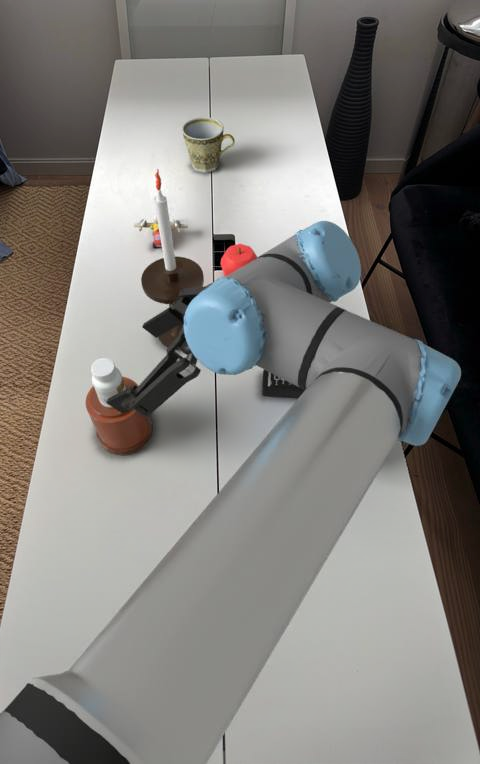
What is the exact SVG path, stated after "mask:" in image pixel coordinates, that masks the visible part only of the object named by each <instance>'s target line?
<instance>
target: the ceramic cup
mask: <svg viewBox="0 0 480 764" xmlns="http://www.w3.org/2000/svg"><path fill="white" fill-rule="evenodd" d="M224 129H225V127H224V125H223V123H222V122H221V121H220V120H219V119H216V118H213V117H210V116H209V117H207V116H201V117H195V118H192V119H189V120H188V121H186V122H185V123H183V126H182V127H181V132H182V136H183V140H184V143H185V146H186V150H187V153H188V157H189V161H190V164H191V166H192V168H193V169H194V170H195V172H199V173H204V174H207V173H211V172H214V171H216V170H217V169H218V167H219V165H220V158H221V155H222V154H223V153H225V152H226V151H227V150H228V149H230V148H232V147H233V146H234V145H235V143H236V142H235V141H236V140H235V137H234V136H233V135H232V134H230V133H225V134H224ZM225 139H230V140H232V143H231V144H230V145H228V146H226V147H225V148H224V149H223V150H222V144H223V141H224V140H225Z"/></svg>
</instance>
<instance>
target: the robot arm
mask: <svg viewBox="0 0 480 764" xmlns="http://www.w3.org/2000/svg"><path fill="white" fill-rule="evenodd" d="M361 277H362V266H361V260H360V257H359V253H358V251H357V248H356V246H355V245H354V243H353V242H352V240H351V238H350V236H349V235H348V234H347V232H346V231H345V230H344V229H343V228H341V227H340V226H339V225H338V224H336V223H334V222H332V221H328V220H320V221H316V222H314V223H313V224H311V225H309V226H307V227H305V228H304V229H299V230H298V231H297V232H295V234H293V235H292V236H290V237H288V238H286V239H285V240H284V241H282V242H280V243H278V244H277V245H275V246H274V247H272V248H270V249H269V250H267V251H265V252H264V253H262V254H260V255H259V256H257V258H256V259H255V260H253V261H252V262H250V263H249V264H247V265H245V266H243V267H241V268H239V269H238V270H236V271H235V272H233V273H231V274H229V275H227V276H226V277H225V276H224V277H223V276H222V277H219V278H217V279H215V281H213V282H211V283H209V284H207V285H203V287H195V288H185V289H182V290H181V291H180V293H179V296H180V297H181V298H180V299H179V300H175V301H174V302H173V304H172V307H168V308H166V309H164V310H163V311H161V312H159V313H158V314H156V315H154V316H153V317H152V318H150V319H148V320H147V321H145V322H144V323H142V326H141V328H142V329H144V330H145V331H146V332H148V333H149V334H150V335H151V336H152V337H154V338H155V339H157V338H158V337H159V336H161V335H162V334H164V333H166V332H167V331H169V330H171V329H173V328H174V327H176V326H178V325H179V324H181V323H183V321H184V324H183V326H182V328H181V330H180V332H179V335H178V337H177V338H176V339H175V340H174V341H173V342H172V343H171V345H170V346H169V347H166V350H165V351H166V355H165V356H164V357H163V358H162V359H161V360H160V361H159V362H158V364H157V365H156V366H154V368H153V369H152V370H151V371H150V373H148V374H147V376H146V377H145V378H144V379H143V380H142V381H141V383H140V384H139V385H138V387H137V386H136V385H134V386H132V387H130V388H128V389H126V390H124V391H122V392H120V393H118V394H116V395H114V396H112V397H110V398H108V400H107V402H106V403H107V404H109V405H110V406H112V407H113V408H115V409H116V410H118V411H119V412H121V413H125V412H127V411H133V410H135V411H136V412H138V413H139V414H141V415H142V416H144V417H146V418H147V417H148V416H151V415H153V413H154V412H155V411H156V410H157V409H159V408H160V407H161V406H162V405H164V403H166V402H167V401H168V400H169V399H170V398H171V397H172V396H173V395H175V394H176V393H177V392H178V391H179V390H180V389H181V388H182V387H183V386H185V385H186V384H187V383H189V382H191V381H192V380H194V379H196V378H197V377H198V376H199V375H200V374H201V371H202V370H201V369H200V367H198V366H197V363H198V362H199V363H200V364H201V365H202V366H203V367H204V368H206V369H208V370H209V371H211V372H212V373H215V374H218V375H228V376H237V375H241V374H243V373H244V372H247V371H249V370H252V369H253V368H254V367H259V368H261V369H263V371H264V370H266V371H268V372H270V373H272V374H274V375H276V376H278V377H280V378H282V379H284V380H286V381H288V382H290V383H292V384H294V385H296V386H298V387H300V388H302V389H304V390H305V391H304V392H303V394H302V395H301V396H300V397H299V398H296V399H297V400H296V401H295V402H294V403H293V404H292V405H291V407H289V409H288V410H287V411H286V412H285V413H284V415H283V416H282V417H281V418H280V419H279V420H278V422H277V423H276V424H275V425H274V426H273V427H272V428H271V430H270V431H269V433H268V434H267V435H266V436H265V437H264V438H263V440H262V441H261V442H260V443H259V444H258V445H257V446H256V448H255V449H254V450H253V451H252V452H251V454H250V455H249V456H248V458H247V459H245V461H244V462H243V463H242V464H241V465H240V467H239V468H238V469H237V470H236V471H235V473H234V474H233V475H232V476H231V477H230V479H229V480H228V481H227V482H226V483H225V484H224V485H223V487H222V488H221V489H220V490H219V492H218V493H217V494H216V495H215V496H214V497H213V498H212V500H211V501H210V502H209V503H208V505H207V506H206V507H205V508H204V509H203V510H202V512H201V513H200V514H199V515H198V516H197V518H196V519H195V520H194V521H193V522H192V524H191V525H190V526H189V527H188V528H187V530H186V531H184V533H183V534H182V535H181V536H180V538H179V539H178V540H177V541H176V542H175V544H174V545H173V546H172V547H171V548H170V549H169V551H168V552H167V553H166V554H165V555H164V556H163V558H162V559H161V560H160V562H159V563H157V565H156V566H155V567H154V569H153V570H152V571H151V572H150V573H149V574H148V576H146V578H144V580H143V582H142V583H141V584H140V585H139V586H138V587H137V588H136V590H135V591H134V592H133V593H132V594H131V596H130V597H129V598H128V599H127V600H126V601H125V602H124V604H123V605H122V606H121V608H119V610H118V611H117V612H116V613H115V615H113V617H112V618H111V619H110V620H109V622H108V623H107V624H106V625H105V626H104V628H102V629H101V631H100V632H99V633H98V634H97V636H96V637H95V638H94V639H93V640H92V641H91V643H90V644H89V645H88V647H87V648H86V649H85V650H84V651H83V653H82V654H81V655H80V656H79V657H78V658H77V659H76V661H74V663H73V664H72V665H71V667H70V668H68V670H66V671H63V672H61V673H56V674H49V675H42V676H35V677H32V678H31V679H30V680H29V681H28V682H27V683H26V684H25V686H24V687H23V688H22V690H20V692H19V693H18V694H17V695H16V696H15V697H14V698H13V700H12V701H10V703H9V704H8V705H7V706H6V707H5V709H4V710H2V711H1V712H0V764H208V763H209V761H210V759H211V757H212V755H213V754H214V752H215V751H216V749H217V747H218V745H219V744H220V742H221V740H222V738H223V737H224V735H225V733H226V732H227V730H228V729H229V727H230V725H231V724H232V722H233V720H234V718H235V716H236V715H237V713H238V712H239V709H240V708H241V707H242V704H243V703H244V701H245V699H246V698H247V696H248V694H249V693H250V691H251V689H252V688H253V686H254V684H255V683H256V681H257V679H258V677H259V676H260V674H261V672H262V670H263V669H264V667H265V665H266V664H267V662H268V660H269V659H270V657H271V656H272V654H273V652H274V650H275V648H276V647H277V645H278V644H279V642H280V640H281V639H282V637H283V635H284V633H285V631H286V630H287V629H288V626H289V625H290V623H291V622H292V619H294V616H295V614H296V613H297V611H298V610H299V608H300V606H301V605H302V602H303V601H304V600H305V597H306V596H307V594H308V592H309V591H310V589H311V587H312V586H313V584H314V582H315V580H316V579H317V577H318V576H319V573H320V572H321V570H322V569H323V567H324V566H325V563H326V562H327V560H328V559H329V557H330V555H331V553H332V552H333V550H334V549H335V547H336V545H337V543H338V541H339V539H341V536H342V535H343V533H344V531H345V529H346V528H347V526H348V525H349V522H350V521H351V520H352V518H353V516H354V514H355V513H356V511H357V509H358V507H359V505H361V502H362V500H363V499H364V497H365V496H366V494H367V492H368V491H369V489H370V487H371V485H372V483H373V482H374V480H375V479H376V477H377V475H378V473H379V472H380V470H381V468H382V467H383V465H384V464H385V461H386V460H387V458H388V457H389V455H390V452H392V450H393V448H394V446H395V445H396V443H397V441H398V442H400V441H401V442H404V443H406V444H409V445H410V446H411V445H412V446H415V447H420V446H423V445H425V444H426V443H427V442H428V441H429V439H430V436H431V435H432V432H433V431H434V430H435V427H436V425H437V423H438V421H439V419H440V418H441V415H442V414H443V412H444V410H445V408H446V406H447V404H448V403H449V401H450V399H451V397H452V395H453V393H454V391H455V389H456V387H457V386H458V384H459V382H460V380H461V376H462V370H461V367H460V364H459V363H458V362H457V361H456V360H454V358H452V357H450V356H447V355H445V354H444V353H442V352H440V351H438V350H436V349H434V348H432V347H430V346H428V345H426V344H425V343H424V342H423V341H422V340H420V339H417V338H412V337H409V336H407V335H405V334H403V333H400V332H397V331H396V330H393V329H391V328H388V327H387V326H384V325H381V324H379V323H377V322H374V321H372V320H369V319H368V318H365V317H363V316H360V315H358V314H356V313H353V312H351V311H348V310H347V309H345V308H342V307H340V306H338V305H336V304H334V303H335V302H337V301H338V300H339V299H340V298H342V297H344V296H345V295H347V294H348V293H351V292H352V291H354V290H355V289H356V288H357V286H358V285H359V283H360V281H361ZM182 315H183V316H184V318H183V317H182ZM177 348H179V349H180V350H179V351H181V352H182V353H183V354H184V355H186V357H183V356H182V355H181V354H180V353H178V352H177V350H176V349H177Z"/></svg>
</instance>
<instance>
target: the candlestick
mask: <svg viewBox="0 0 480 764" xmlns="http://www.w3.org/2000/svg"><path fill="white" fill-rule="evenodd" d="M154 177H155V179H156V180H155V188H156V196H154V198H153V202H154V207H155V213H156V214H157V220H158V226H159V232H160V238H161V244H162V247H161V249H162V256H163V257H162V258H159V259H156V260H155V261H153V262H151V263H150V264H148V265H147V266H146V268H145V269H144V270H143V272H142V274H141V278H140V281H141V287H142V290H143V292H144V294H145V295H146V296H147V297H148V298H149V299H150V300H152V301H154V302H156V303H159V304H162V305H168V306H169V307H172V304H173V302H174V301H175V300H179V299H180V298H181V297H180V296H179V293H180V291H181V290H182V289H185V288H195V287H204V284H205V282H204V281H205V277H204V271H203V269H202V267H201V266H200V264H199V263H197V262H196V261H194V260H192V259H190V258H187V257H185V256H178V255H177V256H176V255H175V248H174V242H173V241H174V239H173V233H172V228H171V226H170V222H171V221H170V220H171V219H170V213H169V206H168V199H167V196H165V195H164V194H163V193H162V189H161V188H162V178H161V176H160V171H159V168H157V169H156V172H155V174H154ZM156 214H155V215H156ZM169 307H168V308H169ZM182 317H183V318H184V316H183V315H182ZM183 324H184V321H183V323H181V324H179V325H178V326H176V327H174V328H173V329H171V330H169V331H167V332H166V333H164V334H162V335H161V336H159V337H157V338H158V340H159V342H160V343H161V344H162V345H163V346H164V347H166V348H168V347H169V346H170V345H171V343H172V342H173V341H174V340H175V339H176V338H177V337H178V335H179V332H180V330H181V328H182V326H183ZM175 351H181V350H180V349H179V348H177V349H176V350H175Z"/></svg>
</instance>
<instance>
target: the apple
mask: <svg viewBox="0 0 480 764" xmlns="http://www.w3.org/2000/svg"><path fill="white" fill-rule="evenodd" d="M257 257H258V255H257V254H256V252H255V250H254V249H253V248H252V247H251V246H250V245H246V244H242V243H238V244H234V245H230V246H229V247H228V248H227V249H226V251H225V252H224V253H223V255H222V257H221V259H220V267H221V269H222V273H223V274H224V277H226V276H227V275H229V274H231V273H233V272H235V271H236V270H238V269H239V268H241V267H243V266H245V265H247V264H249V263H250V262H252V261H253V260H255V259H256V258H257Z"/></svg>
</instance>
